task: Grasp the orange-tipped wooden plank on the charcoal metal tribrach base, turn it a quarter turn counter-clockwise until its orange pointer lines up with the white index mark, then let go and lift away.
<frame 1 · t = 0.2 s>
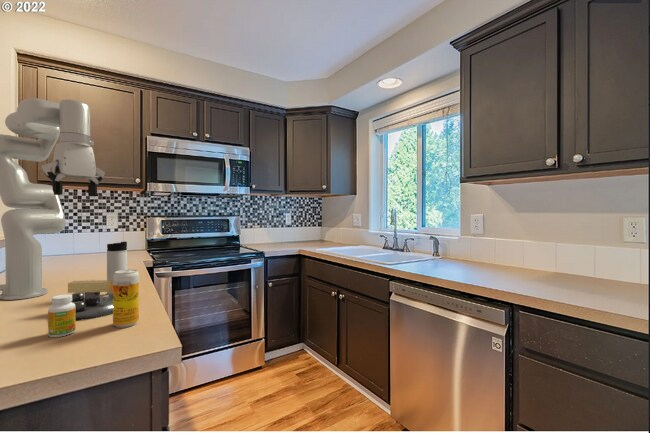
hand: (76, 195, 98), 36 cm above the counter, tool pointing down, fingers open, 9 cm apart
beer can: (126, 325, 87), on the counter
tribrach base: (92, 310, 98), on the counter
orange-tipped wooden plank: (94, 292, 98), point 6 cm above the counter, hinge at 0.0°
travel mug: (117, 295, 116), on the counter
supplement bottle: (62, 334, 80), on the counter
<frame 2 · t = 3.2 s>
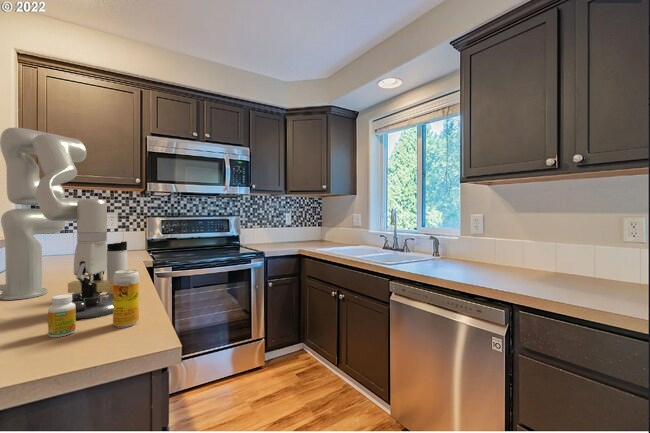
hand: (92, 294, 98), 5 cm above the counter, tool pointing down, fingers closed on orange-tipped wooden plank, 4 cm apart
orange-tipped wooden plank: (94, 292, 98), point 6 cm above the counter, hinge at -0.1°, touching gripper
everything else where it was.
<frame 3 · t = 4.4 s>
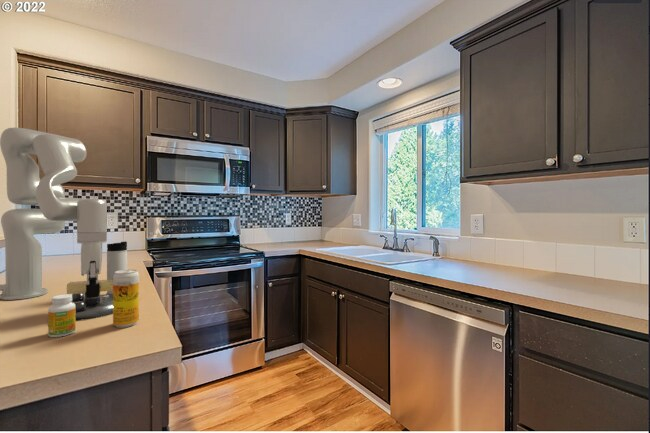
hand: (92, 294, 98), 5 cm above the counter, tool pointing down, fingers closed on orange-tipped wooden plank, 4 cm apart
orange-tipped wooden plank: (95, 291, 98), point 6 cm above the counter, hinge at 14.0°, touching gripper
everything else where it was.
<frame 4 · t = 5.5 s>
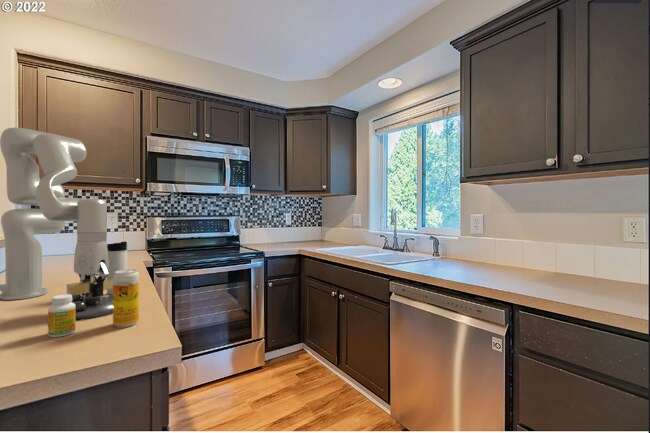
hand: (92, 294, 98), 5 cm above the counter, tool pointing down, fingers closed on orange-tipped wooden plank, 4 cm apart
orange-tipped wooden plank: (95, 291, 99), point 6 cm above the counter, hinge at 43.8°, touching gripper
everything else where it was.
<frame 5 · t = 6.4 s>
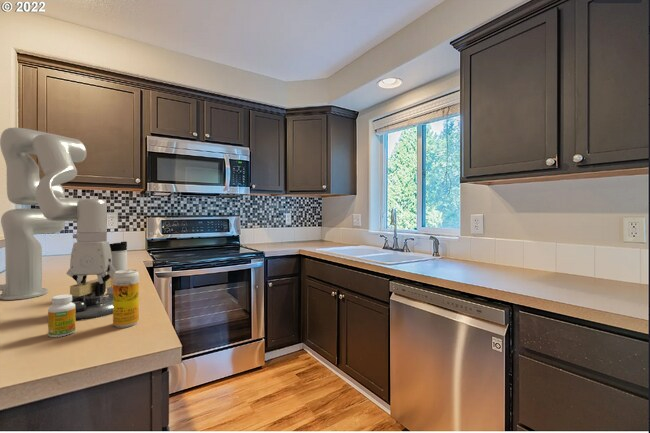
hand: (92, 294, 98), 5 cm above the counter, tool pointing down, fingers closed on orange-tipped wooden plank, 4 cm apart
orange-tipped wooden plank: (94, 291, 99), point 6 cm above the counter, hinge at 73.6°, touching gripper
everything else where it was.
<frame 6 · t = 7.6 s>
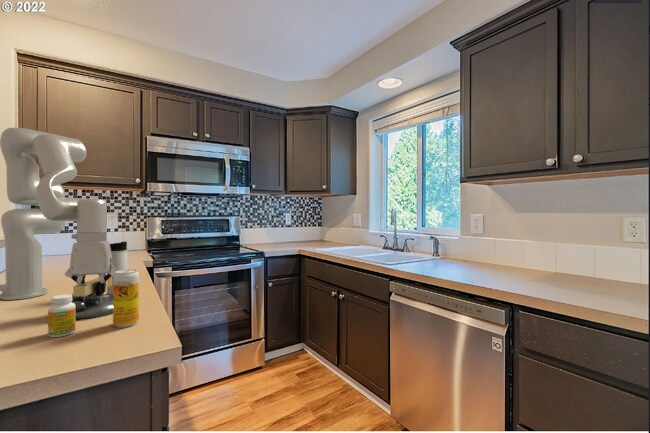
hand: (92, 294, 98), 5 cm above the counter, tool pointing down, fingers closed on orange-tipped wooden plank, 4 cm apart
orange-tipped wooden plank: (93, 291, 99), point 6 cm above the counter, hinge at 86.1°, touching gripper
everything else where it was.
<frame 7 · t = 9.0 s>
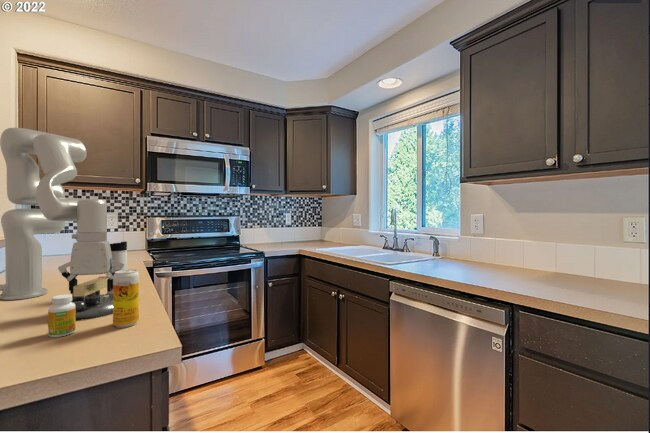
hand: (92, 291, 98), 6 cm above the counter, tool pointing down, fingers open, 9 cm apart
orange-tipped wooden plank: (93, 291, 99), point 6 cm above the counter, hinge at 86.3°
everything else where it was.
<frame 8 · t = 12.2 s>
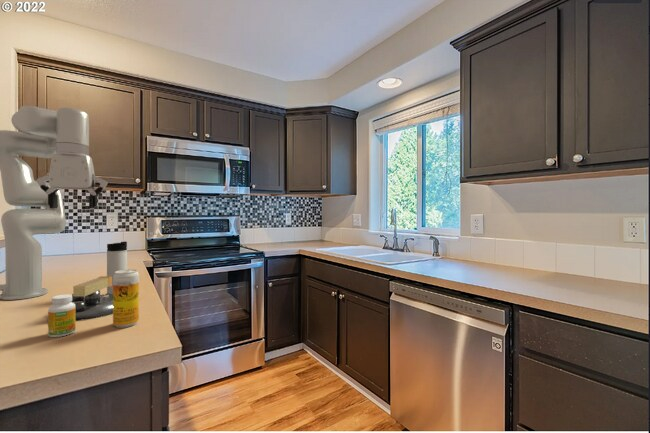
hand: (73, 208, 93), 32 cm above the counter, tool pointing down, fingers open, 9 cm apart
nothing on the counter moved.
at the end: orange-tipped wooden plank at +86° (first picture: +0°); the gripper is holding nothing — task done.
